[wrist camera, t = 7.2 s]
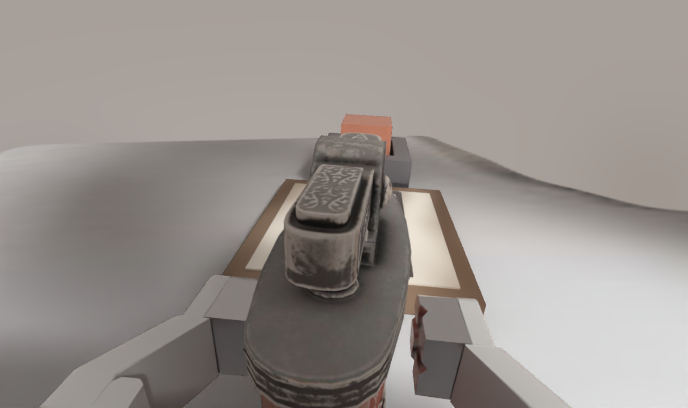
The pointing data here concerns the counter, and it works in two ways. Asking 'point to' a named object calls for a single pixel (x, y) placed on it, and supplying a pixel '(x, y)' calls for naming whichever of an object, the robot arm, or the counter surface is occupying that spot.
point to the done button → (369, 127)
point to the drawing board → (424, 233)
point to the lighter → (332, 285)
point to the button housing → (396, 162)
